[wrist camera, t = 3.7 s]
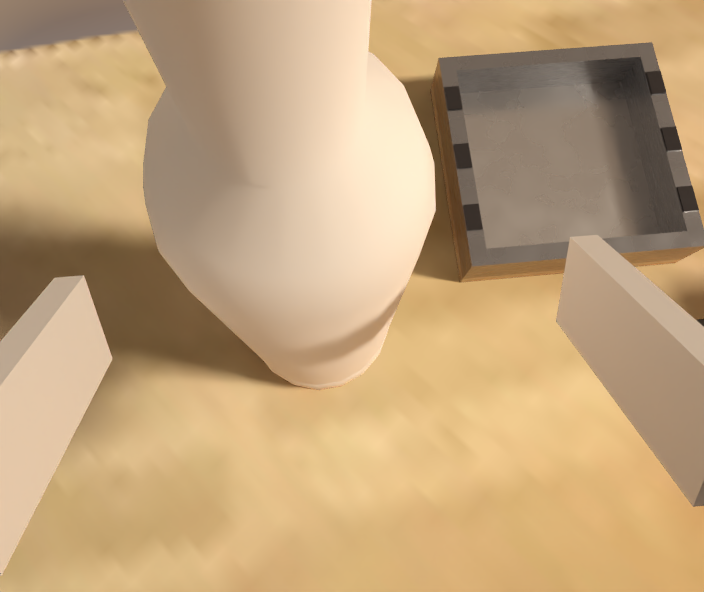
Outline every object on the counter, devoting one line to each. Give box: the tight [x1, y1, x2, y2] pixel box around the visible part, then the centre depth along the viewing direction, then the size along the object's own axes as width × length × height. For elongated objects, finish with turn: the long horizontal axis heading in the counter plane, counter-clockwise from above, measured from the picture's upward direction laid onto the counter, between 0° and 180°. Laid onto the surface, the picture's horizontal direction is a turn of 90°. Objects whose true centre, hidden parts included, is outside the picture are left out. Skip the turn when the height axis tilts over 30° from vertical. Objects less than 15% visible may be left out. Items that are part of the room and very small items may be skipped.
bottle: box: [123, 0, 436, 390], centre depth 19 cm, size 8×8×30 cm
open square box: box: [431, 43, 704, 282], centre depth 35 cm, size 14×14×3 cm
